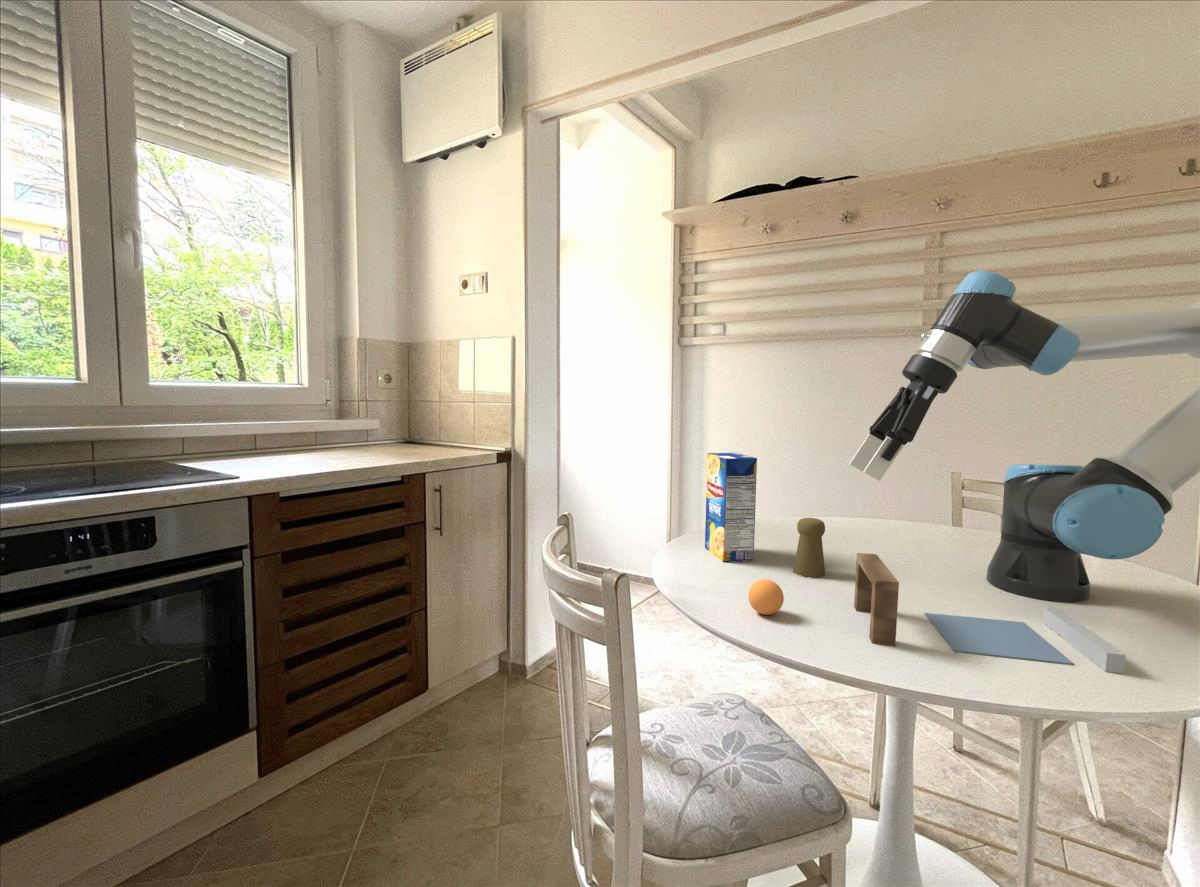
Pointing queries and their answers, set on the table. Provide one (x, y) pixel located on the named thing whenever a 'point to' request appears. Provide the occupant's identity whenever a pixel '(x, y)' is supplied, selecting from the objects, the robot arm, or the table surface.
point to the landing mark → (995, 638)
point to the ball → (765, 596)
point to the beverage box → (730, 506)
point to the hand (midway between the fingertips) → (863, 472)
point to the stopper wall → (1085, 641)
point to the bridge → (877, 597)
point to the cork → (810, 548)
